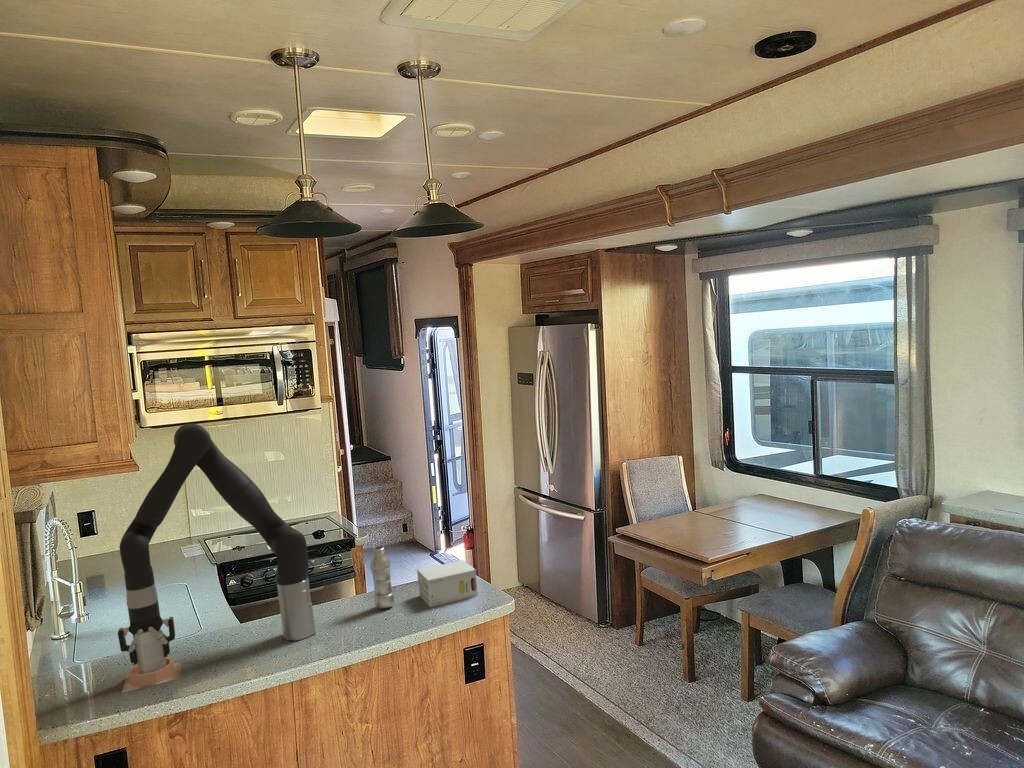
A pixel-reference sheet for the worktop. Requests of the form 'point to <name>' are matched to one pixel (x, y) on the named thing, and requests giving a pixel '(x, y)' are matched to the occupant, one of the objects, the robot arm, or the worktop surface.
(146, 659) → the skincare box
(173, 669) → the terracotta bowl
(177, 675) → the cork mat
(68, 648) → the worktop surface
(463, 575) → the supplement box
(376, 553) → the plastic bottle
